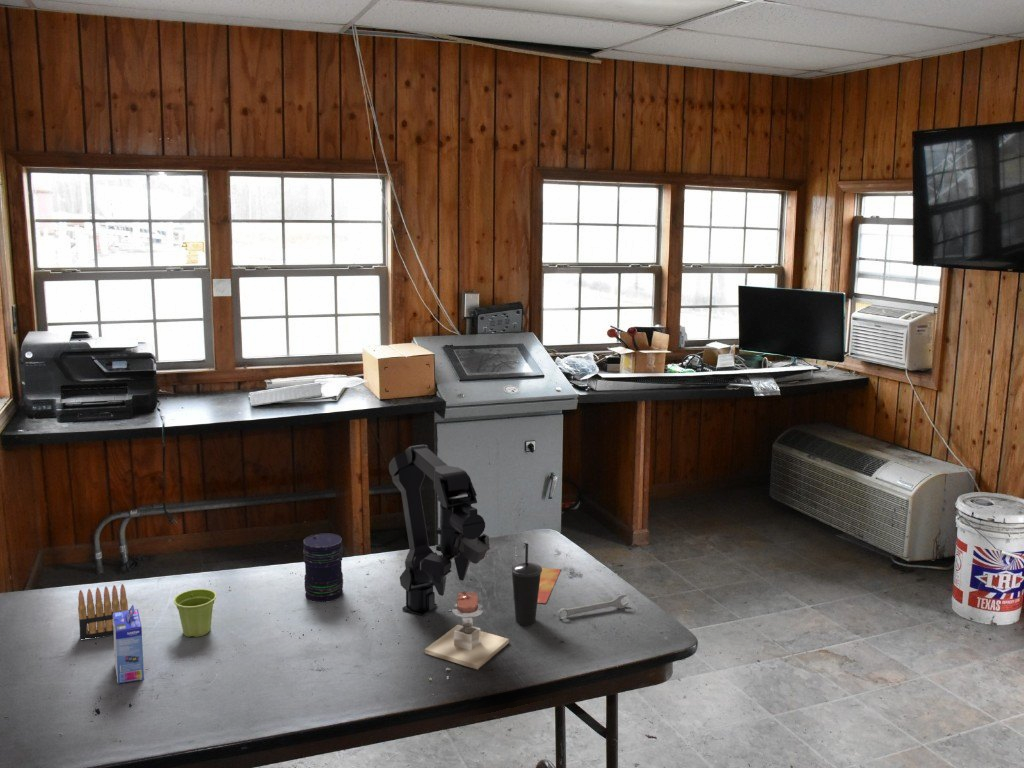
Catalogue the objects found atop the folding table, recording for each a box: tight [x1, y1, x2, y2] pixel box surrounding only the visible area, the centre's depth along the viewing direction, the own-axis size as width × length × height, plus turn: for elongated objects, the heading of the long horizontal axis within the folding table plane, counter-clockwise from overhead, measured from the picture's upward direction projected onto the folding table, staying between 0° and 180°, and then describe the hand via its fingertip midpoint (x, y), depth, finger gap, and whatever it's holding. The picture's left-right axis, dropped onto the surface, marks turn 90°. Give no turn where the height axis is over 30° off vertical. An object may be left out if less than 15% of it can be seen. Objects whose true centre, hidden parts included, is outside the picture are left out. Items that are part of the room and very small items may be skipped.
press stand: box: [424, 624, 510, 671], centre depth 202 cm, size 14×14×4 cm
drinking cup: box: [510, 543, 543, 626], centre depth 214 cm, size 8×8×20 cm
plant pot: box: [173, 588, 217, 638], centre depth 207 cm, size 9×9×9 cm
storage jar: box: [302, 532, 344, 603], centre depth 227 cm, size 10×10×15 cm
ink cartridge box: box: [113, 604, 145, 684], centre depth 188 cm, size 10×6×14 cm, turn 27°
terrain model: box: [537, 567, 561, 604], centre depth 239 cm, size 25×22×1 cm
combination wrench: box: [557, 593, 629, 621], centre depth 220 cm, size 4×1×20 cm
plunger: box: [451, 591, 484, 628], centre depth 200 cm, size 7×7×7 cm
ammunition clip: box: [77, 583, 129, 641], centre depth 204 cm, size 11×2×12 cm, turn 114°
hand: (451, 587), depth 204 cm, fingers open, 9 cm apart
